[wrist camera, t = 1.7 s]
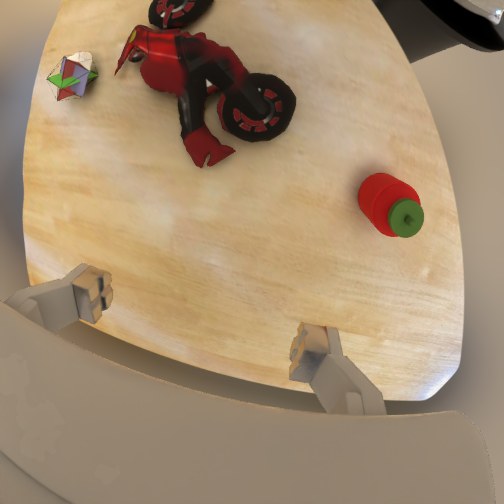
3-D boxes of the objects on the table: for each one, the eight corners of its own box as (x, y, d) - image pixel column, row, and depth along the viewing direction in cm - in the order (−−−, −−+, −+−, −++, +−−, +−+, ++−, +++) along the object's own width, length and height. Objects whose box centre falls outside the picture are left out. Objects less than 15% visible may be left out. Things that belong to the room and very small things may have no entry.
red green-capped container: (382, 162, 28) (418, 178, 20) (410, 198, 30) (448, 225, 21) (348, 195, 31) (371, 222, 22) (377, 229, 32) (405, 265, 23)
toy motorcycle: (200, -18, 21) (98, 46, 23) (194, -37, 16) (79, 36, 19) (302, 122, 29) (187, 188, 32) (312, 118, 25) (178, 196, 27)
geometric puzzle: (74, 119, 27) (57, 86, 20) (50, 101, 26) (32, 70, 19) (110, 84, 29) (102, 48, 21) (84, 69, 28) (74, 35, 20)
